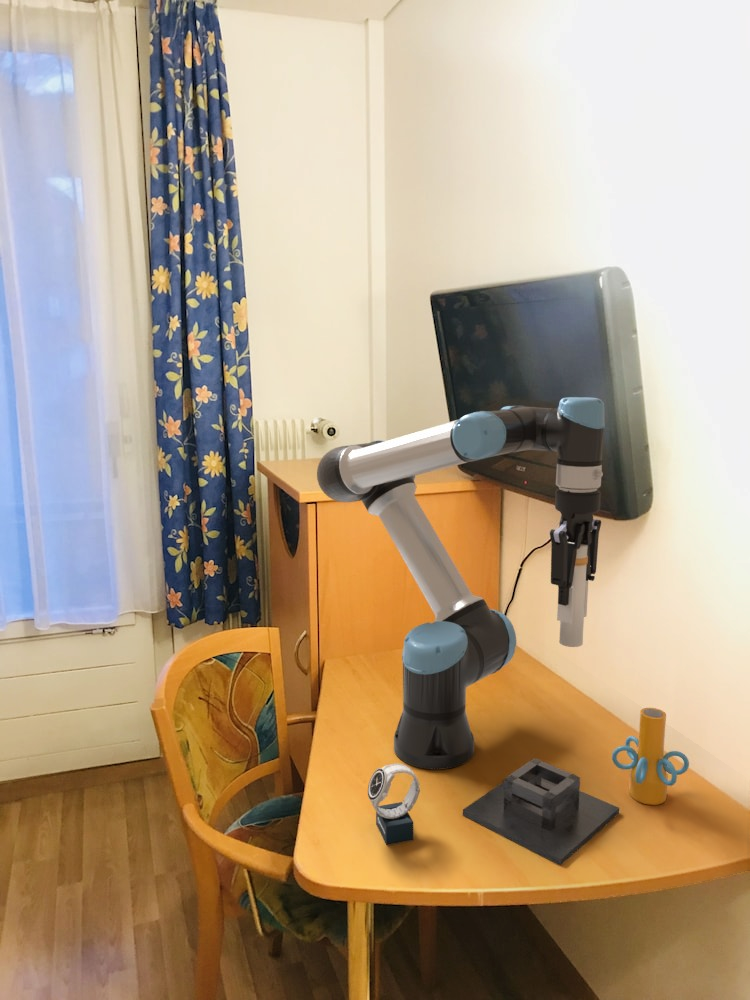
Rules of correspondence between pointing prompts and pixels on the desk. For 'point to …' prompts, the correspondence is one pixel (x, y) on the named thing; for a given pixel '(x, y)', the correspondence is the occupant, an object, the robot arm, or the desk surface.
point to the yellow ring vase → (650, 760)
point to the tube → (576, 603)
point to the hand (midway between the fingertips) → (571, 617)
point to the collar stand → (542, 811)
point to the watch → (393, 816)
